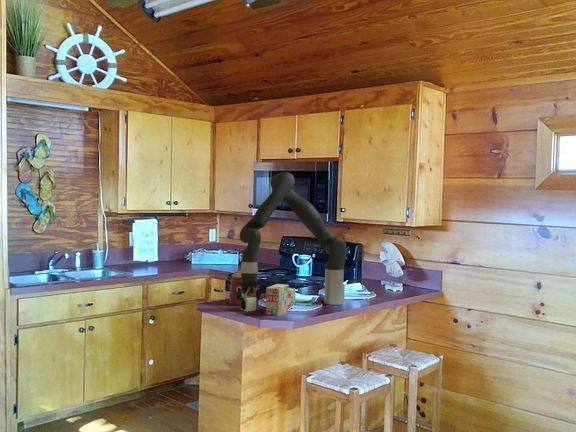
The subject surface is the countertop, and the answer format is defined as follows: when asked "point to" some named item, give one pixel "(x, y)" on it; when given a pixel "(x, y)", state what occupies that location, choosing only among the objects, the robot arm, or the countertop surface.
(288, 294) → the stack of blocks
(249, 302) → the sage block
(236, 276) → the canister
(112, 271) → the countertop surface
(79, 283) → the countertop surface
